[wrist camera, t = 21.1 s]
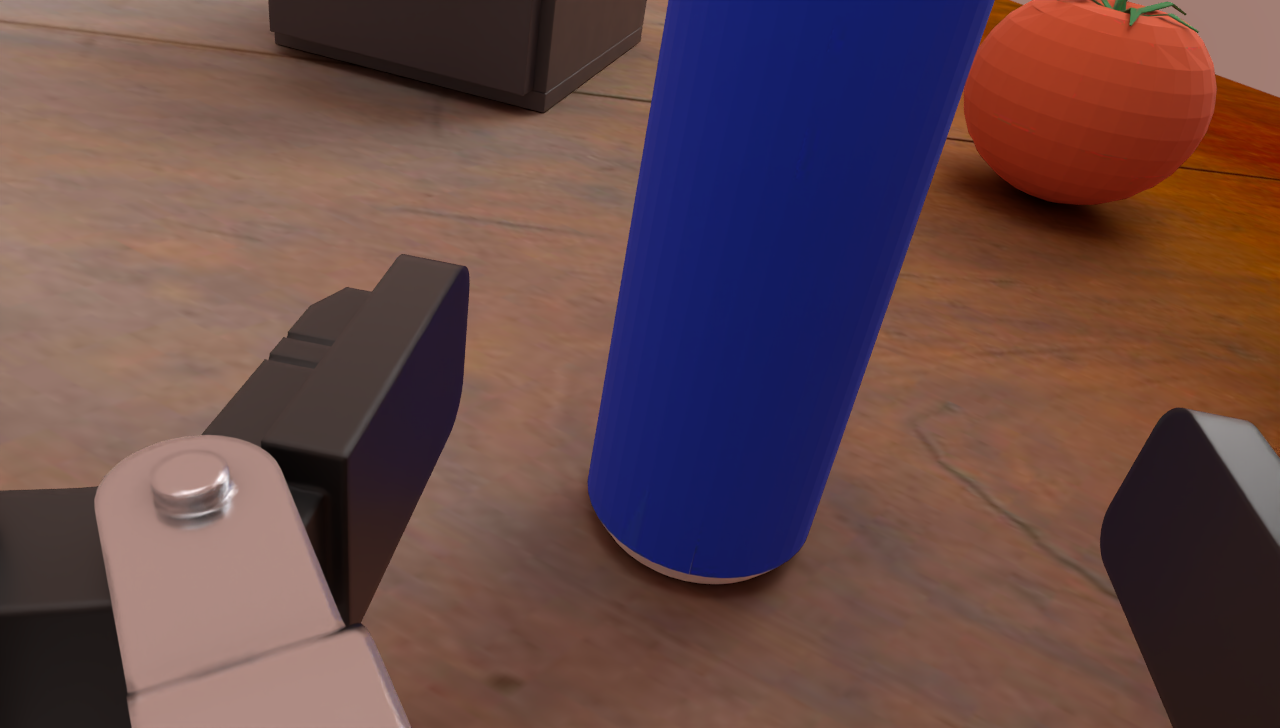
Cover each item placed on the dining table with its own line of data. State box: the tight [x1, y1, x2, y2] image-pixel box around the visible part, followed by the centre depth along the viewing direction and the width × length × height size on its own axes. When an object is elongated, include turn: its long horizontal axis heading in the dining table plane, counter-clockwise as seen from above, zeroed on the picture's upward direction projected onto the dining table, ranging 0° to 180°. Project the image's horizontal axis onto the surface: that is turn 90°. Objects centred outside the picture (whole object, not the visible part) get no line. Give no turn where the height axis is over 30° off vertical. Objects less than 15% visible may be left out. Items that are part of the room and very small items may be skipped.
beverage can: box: [588, 0, 994, 584], centre depth 18 cm, size 5×5×15 cm
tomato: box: [964, 0, 1217, 205], centre depth 42 cm, size 10×10×10 cm
